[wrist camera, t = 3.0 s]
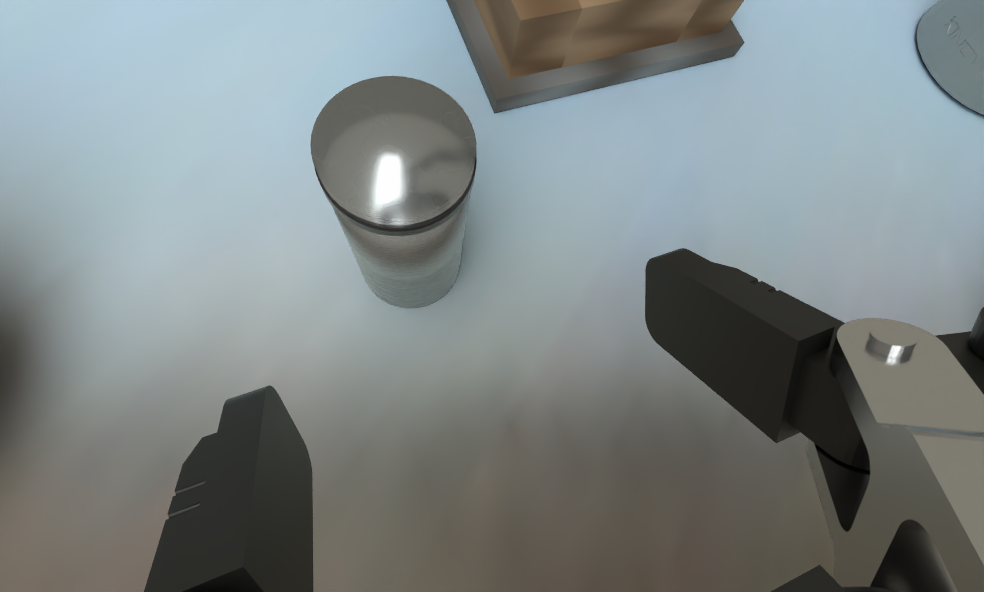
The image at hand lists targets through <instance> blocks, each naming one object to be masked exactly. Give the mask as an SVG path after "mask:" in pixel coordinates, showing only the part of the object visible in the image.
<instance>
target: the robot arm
mask: <svg viewBox="0 0 984 592" xmlns="http://www.w3.org/2000/svg"><path fill="white" fill-rule="evenodd" d="M917 42H918V49H919V51H920V54H921V57H922V60H923V62H924V63H925V65H926V67H927V69H928V70H929V72H930V74H931V75H932V76H933V77H934V79H935V80H936V81H937V82H938V83H939V85H940V86H941V87H942V88H943V89H944V90H945V91H947V92H948V93H949V94H950V95H951V96H952V97H953V98H955V99H956V100H957V101H959V102H960V103H962V104H963V105H965V106H966V107H968V108H970V109H972V110H974V111H976V112H978V113H980V114H982V115H984V0H940V1H938V2H937V3H936V4H935V5H934V6H933V7H931V8H930V9H929V10H928V11H927V12H926V13H925V14H924V15H923V16H922V18H921V20H920V22H919V25H918V30H917ZM645 319H646V324H647V328H648V330H649V332H650V334H651V336H652V338H653V339H654V340H655V342H656V343H657V344H659V345H660V346H661V347H662V348H663V349H664V350H666V351H667V352H668V353H669V354H670V355H672V356H673V357H674V358H675V359H676V360H678V361H679V362H680V363H681V364H682V365H684V366H685V367H686V368H687V369H688V370H690V371H691V372H692V373H693V374H694V375H696V376H697V377H698V378H699V379H700V380H702V381H703V382H704V383H705V384H706V385H707V386H709V387H710V388H711V389H712V390H713V391H715V392H716V393H717V394H718V395H719V396H721V397H722V398H723V399H724V400H725V401H727V402H728V403H729V404H730V405H731V406H733V407H734V408H735V409H736V410H737V411H739V412H740V413H741V414H742V415H743V416H744V417H746V418H747V419H748V420H749V421H750V422H752V423H753V424H754V425H755V426H756V427H758V428H759V429H760V430H761V431H762V432H764V433H765V434H766V435H767V436H768V437H770V438H771V439H772V440H773V441H774V442H776V443H778V442H780V441H782V440H784V439H786V438H789V437H791V436H793V435H795V434H797V433H799V432H801V433H802V434H804V435H805V436H806V437H807V438H808V442H807V445H806V453H807V457H808V460H809V464H810V467H811V470H812V474H813V477H814V481H815V484H816V487H817V491H818V494H819V498H820V501H821V504H822V508H823V511H824V515H825V518H826V521H827V525H828V528H829V531H830V535H831V538H832V542H833V547H834V555H835V568H834V579H833V578H832V577H831V576H830V575H829V574H828V573H827V572H826V571H825V570H824V569H823V568H822V567H821V566H820V565H819V566H817V567H815V568H813V569H811V570H810V571H808V572H806V573H804V574H802V575H800V576H799V577H797V578H795V579H793V580H791V581H789V582H788V583H786V584H784V585H782V586H780V587H778V588H777V589H775V590H773V591H771V592H984V308H982V309H981V311H980V314H979V316H978V318H977V320H976V322H975V325H974V327H973V329H972V331H971V332H963V333H954V334H946V335H938V336H934V335H932V334H931V333H929V332H927V331H925V330H923V329H921V328H918V327H915V326H913V325H910V324H906V323H903V322H899V321H894V320H887V319H877V318H866V319H857V320H853V321H850V322H847V323H843V322H841V321H839V320H838V319H836V318H834V317H832V316H830V315H828V314H826V313H824V312H822V311H820V310H818V309H816V308H814V307H812V306H810V305H808V304H806V303H804V302H802V301H800V300H798V299H796V298H794V297H792V296H790V295H788V294H786V293H784V292H782V291H780V290H779V291H776V290H775V288H774V287H772V286H770V285H768V284H766V283H765V282H763V281H761V282H758V279H757V278H755V277H753V276H751V275H749V274H747V273H745V272H743V271H741V270H739V269H737V268H733V267H729V266H725V265H721V264H717V263H713V262H711V261H709V260H707V259H705V258H703V257H701V256H699V255H697V254H695V253H693V252H691V251H690V250H687V249H684V248H682V249H678V250H675V251H672V252H669V253H666V254H663V255H660V256H657V257H654V258H651V259H650V260H649V261H648V263H647V265H646V293H645ZM175 493H176V496H173V498H172V501H171V505H170V508H169V511H168V516H169V519H167V520H166V521H165V524H164V528H163V531H162V534H161V538H160V541H159V544H158V547H157V551H156V554H155V557H154V561H153V564H152V567H151V570H150V574H149V577H148V580H147V583H146V587H145V590H144V592H313V503H312V467H311V461H310V457H309V454H308V450H307V448H306V445H305V443H304V441H303V439H302V437H301V435H300V433H299V432H298V430H297V428H296V426H295V424H294V422H293V420H292V419H291V417H290V415H289V413H288V411H287V409H286V408H285V406H284V404H283V402H282V400H281V398H280V397H279V395H278V393H277V391H276V390H275V389H274V388H273V387H272V386H267V387H264V388H261V389H258V390H255V391H252V392H249V393H246V394H243V395H240V396H237V397H234V398H231V399H228V400H226V402H225V403H224V406H223V411H222V415H221V419H220V423H219V427H218V431H217V433H214V434H211V435H209V436H206V437H203V438H202V439H201V440H200V442H199V443H198V444H197V446H196V447H195V448H194V450H193V451H192V452H191V454H190V455H189V457H188V458H187V459H186V461H185V462H184V463H183V465H182V469H181V472H180V475H179V479H178V482H177V485H176V488H175Z"/></svg>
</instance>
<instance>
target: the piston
mask: <svg viewBox="0 0 984 592" xmlns="http://www.w3.org/2000/svg"><path fill="white" fill-rule="evenodd" d="M311 155H312V159H313V163H314V166H315V171H316V175H317V177H318V180H319V182H320V185H321V187H322V189H323V191H324V193H325V195H326V197H327V199H328V200H329V202H330V203H331V205H332V207H333V209H334V211H335V213H336V216H337V218H338V220H339V222H340V225H341V227H342V229H343V231H344V234H345V236H346V238H347V240H348V243H349V245H350V247H351V249H352V251H353V254H354V256H355V258H356V260H357V263H358V265H359V267H360V269H361V272H362V274H363V276H364V278H365V280H366V282H367V284H368V286H369V287H370V289H371V290H372V291H373V292H374V293H375V294H376V295H377V296H378V297H379V298H380V299H382V300H383V301H385V302H387V303H389V304H392V305H394V306H398V307H403V308H418V307H423V306H427V305H429V304H432V303H434V302H436V301H438V300H439V299H440V298H442V297H443V296H444V295H445V294H446V293H447V292H448V291H449V290H450V289H451V288H452V286H453V284H454V283H455V281H456V278H457V276H458V272H459V266H460V259H461V252H462V246H463V239H464V232H465V225H466V219H467V212H468V205H469V198H470V192H471V189H472V186H473V182H474V176H475V169H476V139H475V133H474V130H473V127H472V124H471V122H470V120H469V118H468V116H467V115H466V113H465V112H464V110H463V109H462V108H461V107H460V105H459V104H458V103H457V102H456V101H455V100H454V99H453V98H451V97H450V96H449V95H448V94H446V93H445V92H444V91H442V90H441V89H439V88H437V87H435V86H433V85H431V84H428V83H426V82H423V81H420V80H417V79H413V78H407V77H399V76H383V77H376V78H371V79H367V80H363V81H360V82H358V83H355V84H353V85H351V86H349V87H347V88H345V89H343V90H342V91H341V92H339V93H338V94H336V95H335V96H334V97H333V98H332V99H331V100H330V101H329V102H328V103H327V104H326V105H325V107H324V108H323V109H322V111H321V112H320V114H319V115H318V117H317V119H316V122H315V124H314V127H313V131H312V135H311Z"/></svg>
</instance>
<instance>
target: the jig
mask: <svg viewBox="0 0 984 592" xmlns="http://www.w3.org/2000/svg"><path fill="white" fill-rule="evenodd" d="M743 1H744V0H447V2H448V5H449V7H450V9H451V12H452V14H453V16H454V19H455V21H456V23H457V26H458V28H459V30H460V33H461V35H462V38H463V40H464V42H465V45H466V47H467V49H468V52H469V54H470V56H471V59H472V61H473V64H474V66H475V68H476V71H477V73H478V75H479V78H480V80H481V82H482V85H483V87H484V89H485V92H486V94H487V97H488V99H489V101H490V104H491V106H492V108H493V111H494V113H496V112H501V111H505V110H509V109H513V108H517V107H522V106H526V105H530V104H534V103H539V102H543V101H547V100H551V99H555V98H560V97H564V96H568V95H572V94H577V93H581V92H585V91H589V90H593V89H598V88H602V87H606V86H610V85H614V84H619V83H623V82H627V81H631V80H636V79H640V78H644V77H648V76H652V75H657V74H661V73H665V72H669V71H673V70H678V69H682V68H686V67H690V66H695V65H699V64H703V63H707V62H711V61H716V60H720V59H724V58H728V57H733V56H734V55H735V54H736V53H737V51H738V50H739V49H740V47H741V46H742V45H743V44H744V41H743V39H742V37H741V36H740V34H739V32H738V31H737V29H736V27H735V26H734V24H733V22H732V21H731V18H732V17H733V15H734V14H735V12H736V11H737V10H738V8H739V7H740V5H741V4H742V3H743Z"/></svg>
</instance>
